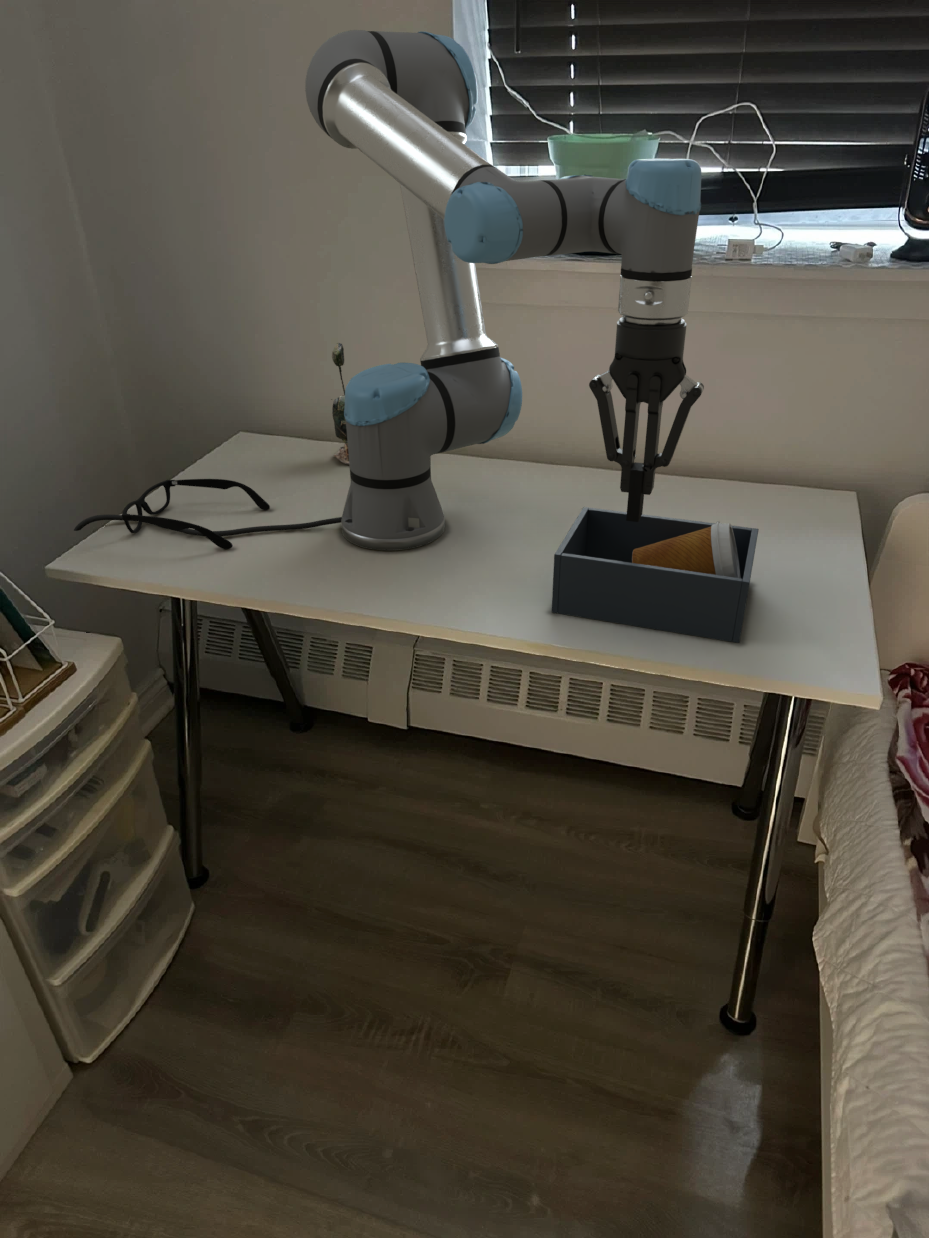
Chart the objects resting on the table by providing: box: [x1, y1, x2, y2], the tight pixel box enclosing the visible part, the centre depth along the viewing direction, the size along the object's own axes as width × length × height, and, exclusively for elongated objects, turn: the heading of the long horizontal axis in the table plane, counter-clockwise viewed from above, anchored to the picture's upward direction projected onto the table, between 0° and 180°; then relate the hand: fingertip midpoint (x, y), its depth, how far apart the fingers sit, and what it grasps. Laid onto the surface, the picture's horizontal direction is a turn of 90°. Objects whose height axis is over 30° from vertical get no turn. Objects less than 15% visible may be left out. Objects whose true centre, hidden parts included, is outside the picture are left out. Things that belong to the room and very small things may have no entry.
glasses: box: [121, 478, 271, 550], centre depth 133 cm, size 17×18×5 cm
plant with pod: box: [330, 342, 349, 465], centre depth 154 cm, size 8×11×20 cm
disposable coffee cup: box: [632, 521, 741, 578], centre depth 110 cm, size 10×10×12 cm
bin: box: [551, 506, 759, 644], centre depth 111 cm, size 23×16×8 cm
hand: (634, 517), depth 109 cm, fingers closed
